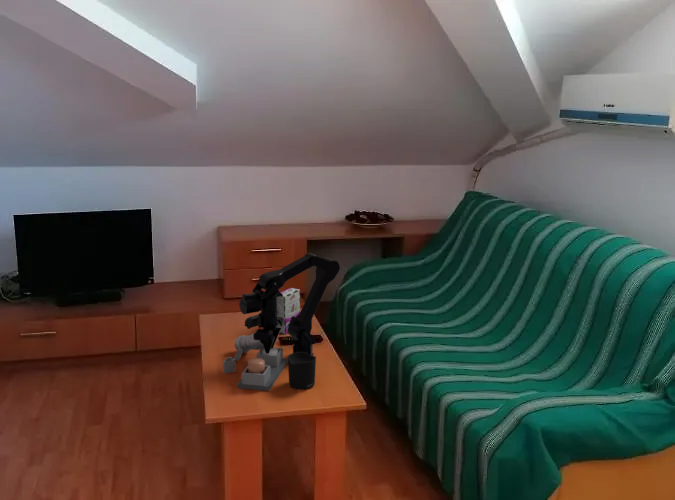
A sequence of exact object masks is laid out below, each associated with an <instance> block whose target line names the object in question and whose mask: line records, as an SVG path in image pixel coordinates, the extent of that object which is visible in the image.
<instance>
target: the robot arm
mask: <svg viewBox="0 0 675 500" xmlns="http://www.w3.org/2000/svg"><path fill="white" fill-rule="evenodd" d="M339 263H340V262H338V261H337V260H336V259H335V260H334V259H332V258H330V257H326V256H323V257H319V256H318V255H317V254H314V253H311V252H308V253H306V254H305V255H303V256H302V257H300V258H298V259H296V260H294V261H293V262H291V263H289V264H287V265H286V266H283V267H281V268H279V269H277V270H270V271H267V272H265V273H261V274H260V276H259V277H258V278H259V279H258V281H257V283H256V284H255V286H254V288H253V289H252V291H251V292H252V293H244V294H241V295H242V296H241V298H240V299H239V302H238V303H239V304H238V305H239V309H240V312H241V314H243V315H246V314H253V313H258V312H259V313H258V314H255V315H252V316H249V317H247V318H246V319H245V320H244V327H246V328H247V329H248V330H250V329H253V328H255V327H258V328H257V330H256V331H255V332H254V334H253V333H252V334H253V339H254V340H261V341H262V343H263V346H264V349H265V352H266V353H269V352H270V349H273V348H275V347H274V346H275V344H276V341H277V340H278V337H279V335H280V334H281V333H280V330H281V328H277V326H278V324H280V326H283V325H284V319H283V318H282V317H277V315H278V313H279V311H278V310H277V297H280V296H283V294H281V293H280V289H281V288H283V287H284V285H285V283H287V281H289V280H291V279H293V278H294V277H295V276H296V277H297V276H298V275H299V274H302V273H304V272H305V271H307V270H308V269H310V268H312V267H315V279H314V281H313V284H312V286H311V289H310V290H309V293H308V294H307V297H306V299H305V301H304V303H303V306H302V308H301V309H300V314H299V315H298V316H296V317H294V316H292V318H291V321H290V323H289V324H288V326H289V327H288V333H287V334H288V335H289V336H290V337H291V339H292V340H294V344H293V345H292V353H296V352H305V353H307V354H309V355H311V356H314V354H315V353H314V352H313V345H315V343H316V341H317V338H316V337H315V336H314V335H313V334H312V333H311V332H312V328H313V324H312V323H313V317H314V315H315V314H316V311H317V309H318V308H319V305H320V302H321V301H322V298H323V296H324V294H325V292H326V289H327V287H328V285H329V284H330V283H331V282H332V281H334V279H336V277H337V275H338V274H339V273H340V269H341V267H340V264H339Z"/></svg>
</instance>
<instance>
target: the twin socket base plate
mask: <svg viewBox="0 0 675 500" xmlns="http://www.w3.org/2000/svg"><path fill="white" fill-rule="evenodd" d="M275 348H276V349H277V350H278V353H277V355H276V356H275V355H264V354H262V350H263V349H264V347H263V348H262V349H260V350H258V352H257V353H256V358H260V359H263V360H264V361H265V372H264V373H263V374H256V373H248V365H246V367H245V369H243V370H242V373H241V378H240V380H239V381H238V382H237V383H236V386H237V389H243V390H253V391H254V390H255V391H256V390H257V391H263V392H264V391H266V392H270V390H271V389H272V387H273V386H274V384H275V383H276V381H277V379H278V378H279V376H281V374H282V372H283V370H284V369H285V367H286V366H287V365H288V358H284V348H283V347H275Z"/></svg>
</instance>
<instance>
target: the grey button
mask: <svg viewBox="0 0 675 500" xmlns="http://www.w3.org/2000/svg"><path fill="white" fill-rule="evenodd" d="M276 348H277V347H273V349H270V352H269V353H266V352H265V349H263V350H262V354H264V355H275V356H276V355H277V353H278V350H277V349H276Z"/></svg>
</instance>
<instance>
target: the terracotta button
mask: <svg viewBox="0 0 675 500" xmlns="http://www.w3.org/2000/svg"><path fill="white" fill-rule="evenodd" d="M247 366H248V373H256V374H263V373H264V372H265V361H264V360H263V359H260V358H257V357H255V358H251V359H249V360H248V361H247Z"/></svg>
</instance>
